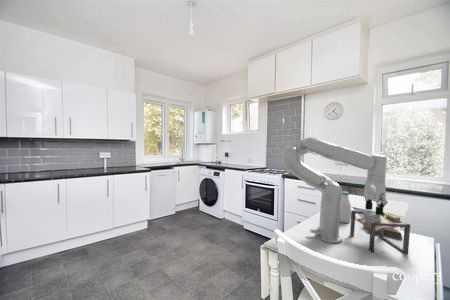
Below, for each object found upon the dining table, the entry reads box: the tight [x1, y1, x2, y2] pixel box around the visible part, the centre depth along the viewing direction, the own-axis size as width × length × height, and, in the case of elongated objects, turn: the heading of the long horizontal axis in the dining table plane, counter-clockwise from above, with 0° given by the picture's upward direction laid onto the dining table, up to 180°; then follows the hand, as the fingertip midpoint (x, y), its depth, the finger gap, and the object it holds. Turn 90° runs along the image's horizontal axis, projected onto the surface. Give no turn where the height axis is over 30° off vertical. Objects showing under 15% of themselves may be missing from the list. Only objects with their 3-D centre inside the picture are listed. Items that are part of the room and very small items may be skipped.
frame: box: [349, 209, 411, 255], centre depth 104 cm, size 17×17×14 cm
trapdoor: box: [356, 212, 403, 231], centre depth 104 cm, size 16×13×3 cm
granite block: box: [362, 210, 381, 225], centre depth 104 cm, size 5×5×5 cm
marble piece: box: [362, 224, 403, 240], centre depth 120 cm, size 17×15×4 cm
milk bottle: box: [339, 190, 352, 224], centre depth 134 cm, size 8×8×20 cm
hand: (373, 211), depth 104 cm, fingers open, 7 cm apart
